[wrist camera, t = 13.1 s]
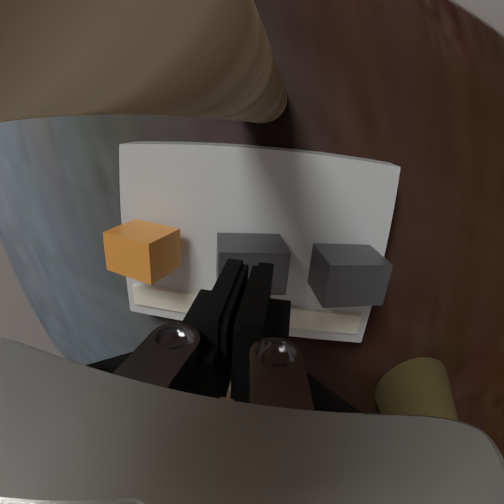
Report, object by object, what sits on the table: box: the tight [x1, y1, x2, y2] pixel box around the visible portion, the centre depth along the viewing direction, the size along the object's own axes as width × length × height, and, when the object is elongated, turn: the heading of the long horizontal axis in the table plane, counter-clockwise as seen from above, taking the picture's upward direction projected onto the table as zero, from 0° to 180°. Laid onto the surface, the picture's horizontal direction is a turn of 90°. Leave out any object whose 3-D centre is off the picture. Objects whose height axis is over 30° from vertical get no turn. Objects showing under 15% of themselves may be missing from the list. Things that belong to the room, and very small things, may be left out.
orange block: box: [103, 219, 181, 285], centre depth 15 cm, size 3×2×2 cm, turn 85°
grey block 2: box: [307, 243, 393, 308], centre depth 14 cm, size 3×2×2 cm, turn 87°
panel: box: [119, 141, 401, 343], centre depth 17 cm, size 14×10×2 cm
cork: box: [375, 357, 458, 421], centre depth 16 cm, size 6×6×11 cm
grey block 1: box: [216, 233, 291, 295], centre depth 15 cm, size 3×2×2 cm, turn 86°
